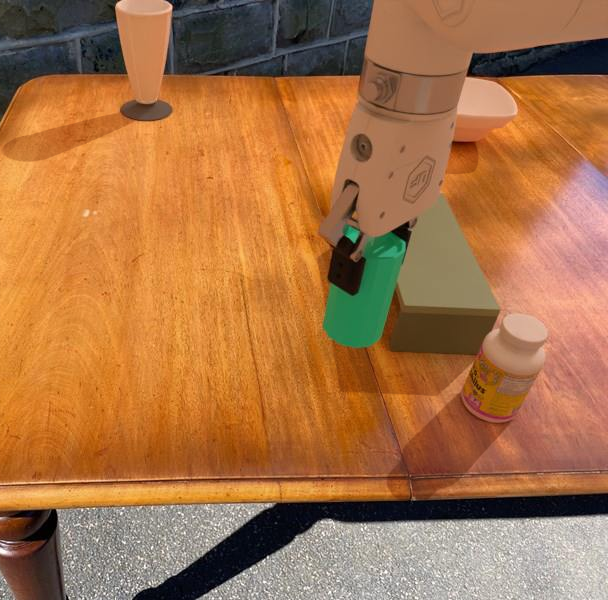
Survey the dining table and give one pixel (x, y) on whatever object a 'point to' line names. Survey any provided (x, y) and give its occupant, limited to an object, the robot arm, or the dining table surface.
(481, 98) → the bowl
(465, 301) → the shelf
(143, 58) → the cup
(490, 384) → the supplement bottle
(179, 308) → the dining table surface
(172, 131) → the dining table surface
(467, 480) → the dining table surface
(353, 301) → the candle
